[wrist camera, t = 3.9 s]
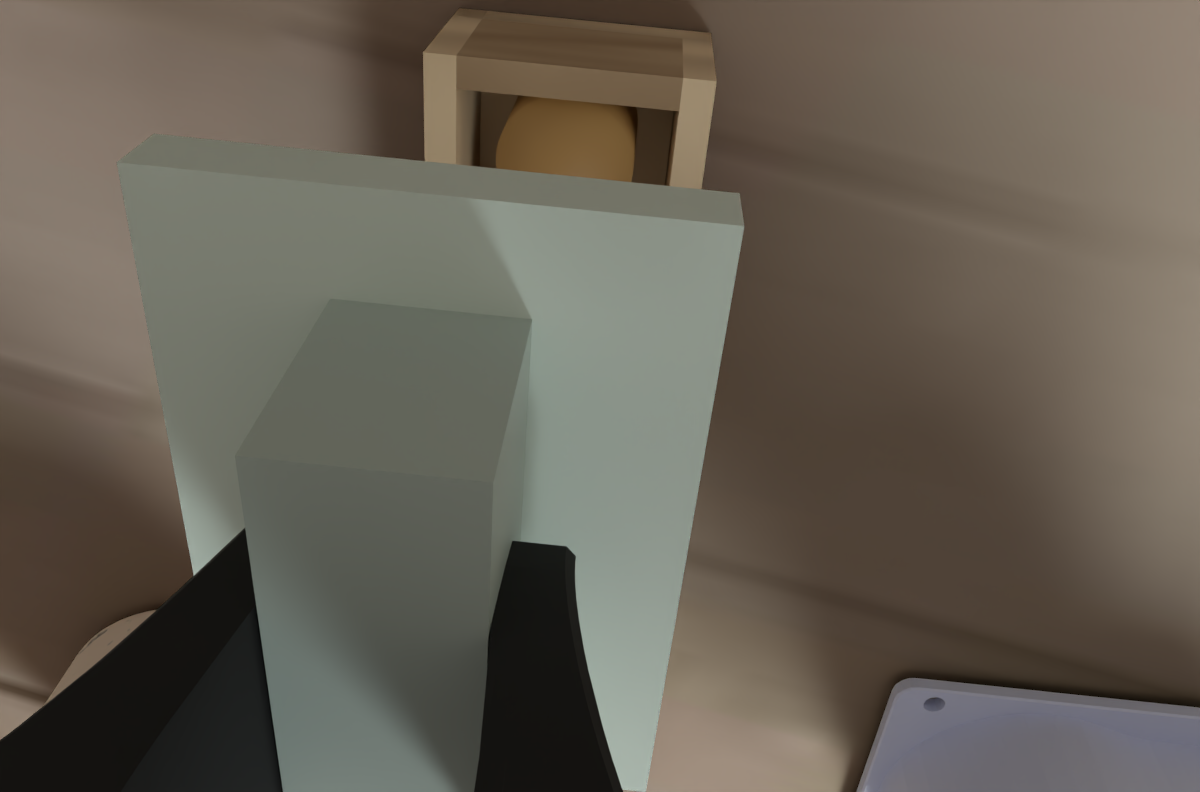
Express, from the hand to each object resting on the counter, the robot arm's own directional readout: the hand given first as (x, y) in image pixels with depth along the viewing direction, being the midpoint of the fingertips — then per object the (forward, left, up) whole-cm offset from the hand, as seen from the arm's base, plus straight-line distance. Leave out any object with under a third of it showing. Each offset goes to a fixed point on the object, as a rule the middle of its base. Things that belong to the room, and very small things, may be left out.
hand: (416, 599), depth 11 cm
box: (-1, 0, -11) cm, 11 cm away
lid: (0, 0, -2) cm, 2 cm away
